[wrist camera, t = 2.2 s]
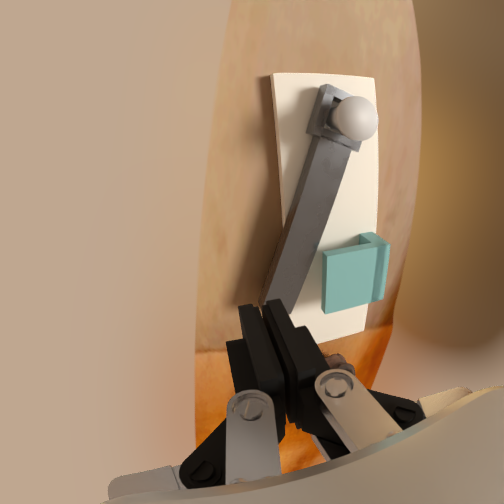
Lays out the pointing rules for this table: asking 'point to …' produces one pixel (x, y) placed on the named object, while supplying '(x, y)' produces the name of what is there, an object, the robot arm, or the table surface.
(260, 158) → the table surface
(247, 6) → the table surface
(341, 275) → the keeper bracket
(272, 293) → the swing link
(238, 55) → the table surface
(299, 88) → the base plank
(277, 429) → the robot arm
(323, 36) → the table surface
